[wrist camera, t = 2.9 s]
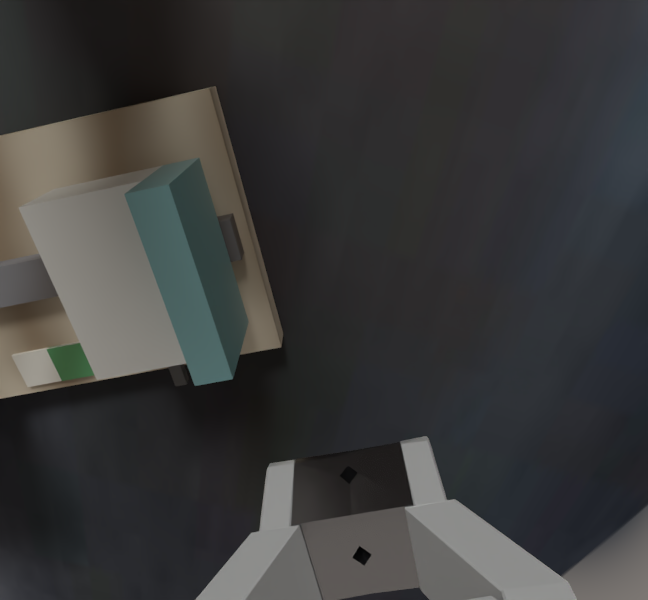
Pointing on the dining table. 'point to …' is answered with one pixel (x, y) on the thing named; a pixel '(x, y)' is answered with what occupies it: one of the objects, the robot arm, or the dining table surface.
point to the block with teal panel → (143, 272)
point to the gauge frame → (97, 163)
